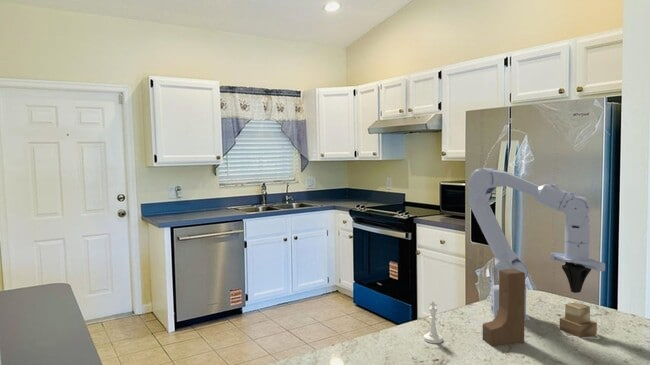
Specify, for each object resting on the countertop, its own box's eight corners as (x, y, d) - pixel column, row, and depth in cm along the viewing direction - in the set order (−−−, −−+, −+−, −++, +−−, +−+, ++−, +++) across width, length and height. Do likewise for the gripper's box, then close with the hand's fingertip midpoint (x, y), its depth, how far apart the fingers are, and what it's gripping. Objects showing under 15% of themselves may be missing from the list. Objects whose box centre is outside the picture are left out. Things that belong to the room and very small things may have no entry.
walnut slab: (579, 337, 113) (580, 325, 112) (559, 329, 118) (559, 318, 118) (596, 333, 115) (596, 322, 115) (575, 325, 120) (575, 314, 120)
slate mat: (541, 341, 112) (541, 339, 112) (530, 325, 123) (530, 323, 123) (607, 345, 109) (608, 343, 109) (590, 328, 120) (590, 326, 119)
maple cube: (578, 324, 114) (579, 308, 113) (565, 319, 117) (565, 304, 117) (589, 321, 115) (590, 306, 115) (576, 316, 119) (576, 302, 119)
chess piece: (430, 334, 117) (430, 296, 117) (446, 339, 114) (446, 300, 113) (419, 339, 114) (419, 301, 113) (436, 345, 110) (436, 305, 110)
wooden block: (491, 348, 108) (492, 274, 107) (481, 340, 113) (482, 270, 112) (524, 344, 110) (525, 272, 109) (513, 337, 114) (514, 268, 113)
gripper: (543, 238, 124) (542, 286, 124) (591, 247, 110) (590, 301, 111) (561, 236, 126) (560, 283, 127) (611, 245, 113) (610, 298, 114)
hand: (575, 291), depth 119 cm, fingers closed
